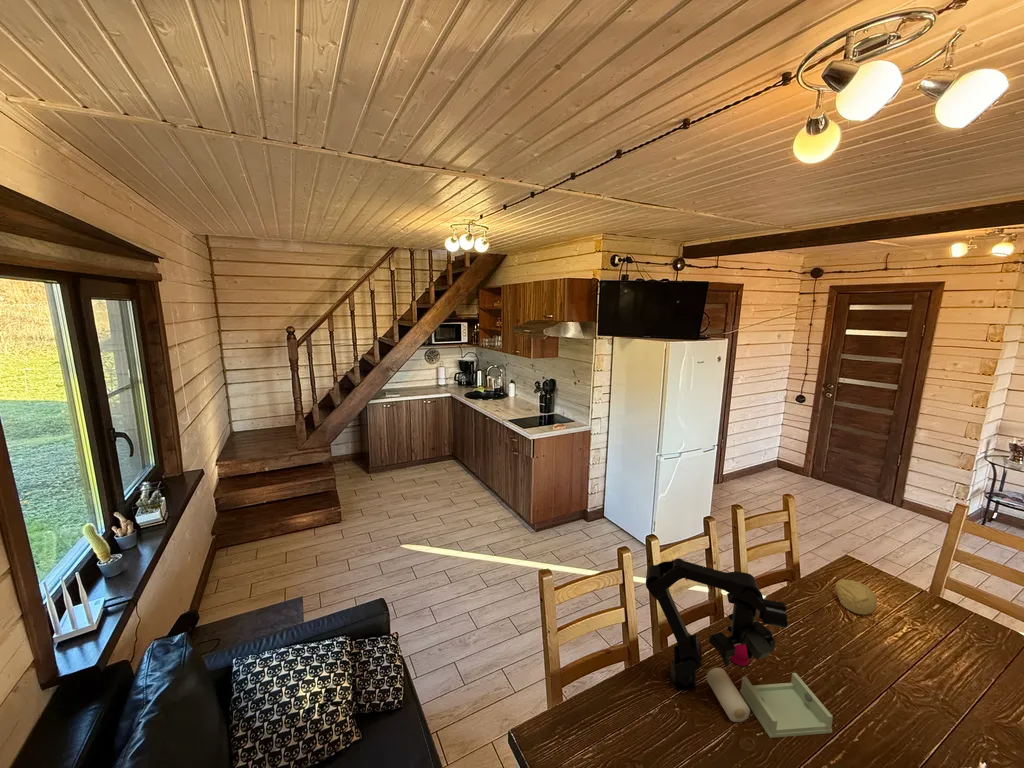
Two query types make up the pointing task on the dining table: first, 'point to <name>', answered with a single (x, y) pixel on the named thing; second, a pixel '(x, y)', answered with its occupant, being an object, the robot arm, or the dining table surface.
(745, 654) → the pepper mill
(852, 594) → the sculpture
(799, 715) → the roll cradle
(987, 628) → the dining table surface
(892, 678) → the dining table surface
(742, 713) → the kitchen roll
